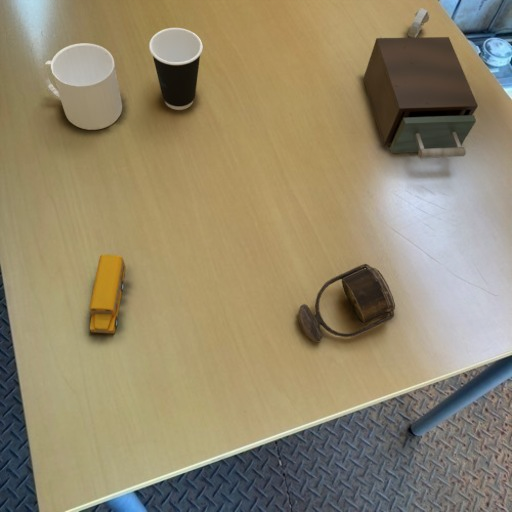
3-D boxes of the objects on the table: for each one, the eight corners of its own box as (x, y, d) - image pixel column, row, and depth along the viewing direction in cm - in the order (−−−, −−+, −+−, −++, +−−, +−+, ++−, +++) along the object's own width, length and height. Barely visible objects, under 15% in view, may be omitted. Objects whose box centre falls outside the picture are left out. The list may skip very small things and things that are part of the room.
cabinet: (455, 143, 91) (478, 105, 84) (383, 146, 90) (399, 108, 82) (430, 76, 99) (448, 36, 91) (363, 78, 97) (376, 37, 90)
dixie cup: (212, 95, 92) (212, 41, 83) (184, 124, 89) (182, 71, 79) (173, 75, 94) (169, 20, 84) (145, 103, 90) (138, 48, 80)
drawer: (466, 172, 87) (485, 143, 81) (398, 175, 86) (412, 146, 80) (434, 86, 96) (449, 54, 90) (371, 87, 95) (382, 56, 89)
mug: (133, 101, 90) (125, 56, 82) (102, 138, 86) (92, 94, 78) (70, 76, 92) (57, 29, 84) (38, 111, 87) (20, 65, 79)
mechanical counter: (412, 335, 68) (403, 257, 70) (312, 335, 65) (308, 255, 68) (388, 342, 74) (381, 271, 77) (297, 343, 72) (293, 270, 75)
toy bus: (90, 334, 70) (84, 323, 67) (103, 267, 75) (99, 253, 71) (115, 336, 70) (111, 324, 67) (127, 268, 75) (123, 255, 72)
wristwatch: (424, 30, 105) (434, 7, 101) (415, 45, 103) (424, 22, 98) (410, 24, 105) (419, 1, 101) (401, 39, 103) (409, 16, 99)
